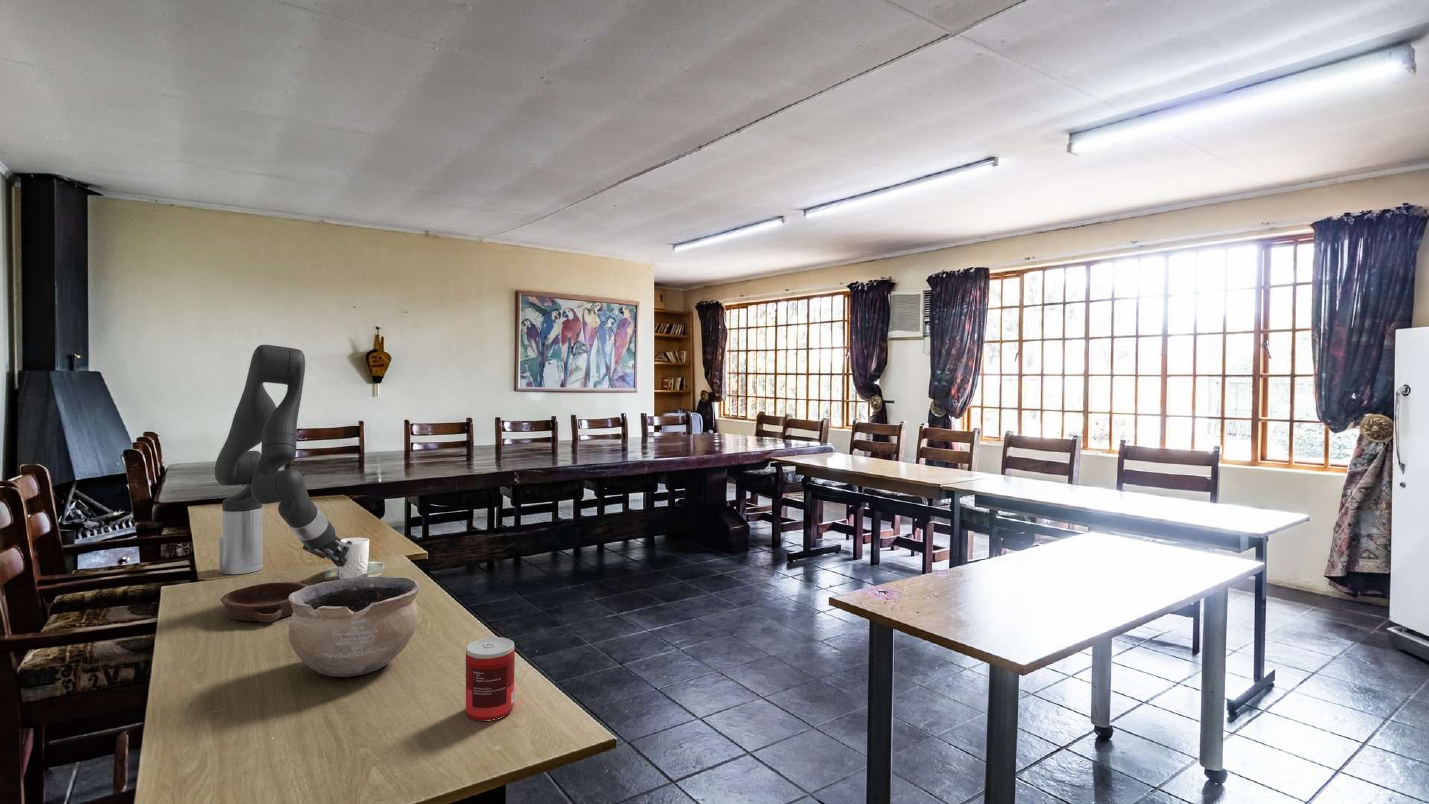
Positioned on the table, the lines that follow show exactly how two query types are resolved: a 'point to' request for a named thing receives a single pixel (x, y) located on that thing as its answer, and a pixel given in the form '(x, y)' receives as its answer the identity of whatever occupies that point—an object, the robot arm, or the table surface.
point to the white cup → (355, 558)
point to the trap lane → (372, 571)
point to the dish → (261, 601)
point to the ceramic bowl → (353, 623)
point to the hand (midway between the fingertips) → (342, 563)
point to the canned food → (490, 678)
